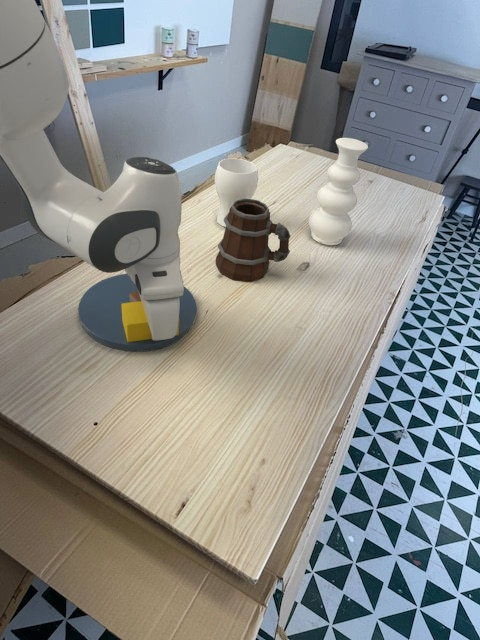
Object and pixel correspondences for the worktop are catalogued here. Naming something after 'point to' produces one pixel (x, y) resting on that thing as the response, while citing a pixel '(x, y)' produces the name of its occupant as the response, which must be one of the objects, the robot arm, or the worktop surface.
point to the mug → (249, 241)
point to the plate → (106, 315)
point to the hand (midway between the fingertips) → (152, 324)
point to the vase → (337, 195)
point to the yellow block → (136, 322)
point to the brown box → (134, 297)
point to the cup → (234, 183)
